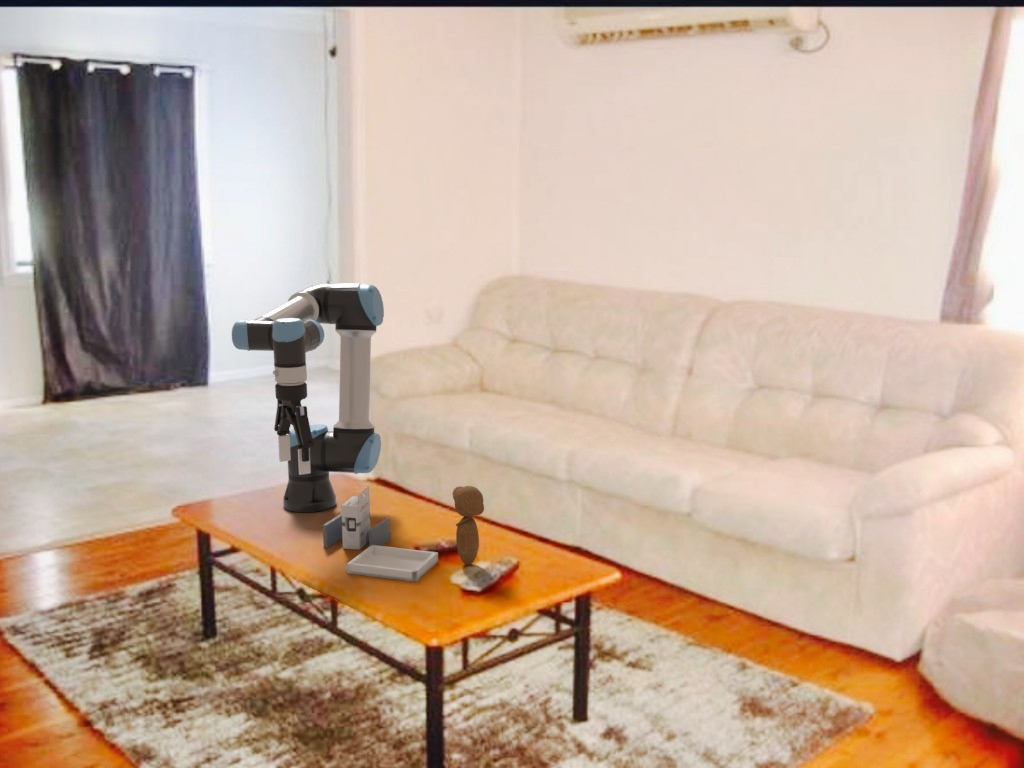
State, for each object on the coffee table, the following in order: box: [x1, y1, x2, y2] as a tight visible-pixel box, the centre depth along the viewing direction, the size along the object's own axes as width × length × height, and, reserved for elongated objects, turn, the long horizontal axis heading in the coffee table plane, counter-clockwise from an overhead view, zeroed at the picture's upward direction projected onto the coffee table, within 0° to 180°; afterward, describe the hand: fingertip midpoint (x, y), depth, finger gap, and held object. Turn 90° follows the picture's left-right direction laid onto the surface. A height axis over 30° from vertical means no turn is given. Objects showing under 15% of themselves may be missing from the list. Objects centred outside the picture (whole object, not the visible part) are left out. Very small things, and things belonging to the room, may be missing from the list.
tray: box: [346, 545, 439, 582], centre depth 253 cm, size 14×18×2 cm
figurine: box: [452, 485, 485, 566], centre depth 253 cm, size 9×7×20 cm
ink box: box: [340, 486, 371, 551], centre depth 268 cm, size 9×5×15 cm, turn 168°
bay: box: [322, 513, 392, 549], centre depth 269 cm, size 11×14×6 cm
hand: (294, 467), depth 255 cm, fingers open, 13 cm apart
